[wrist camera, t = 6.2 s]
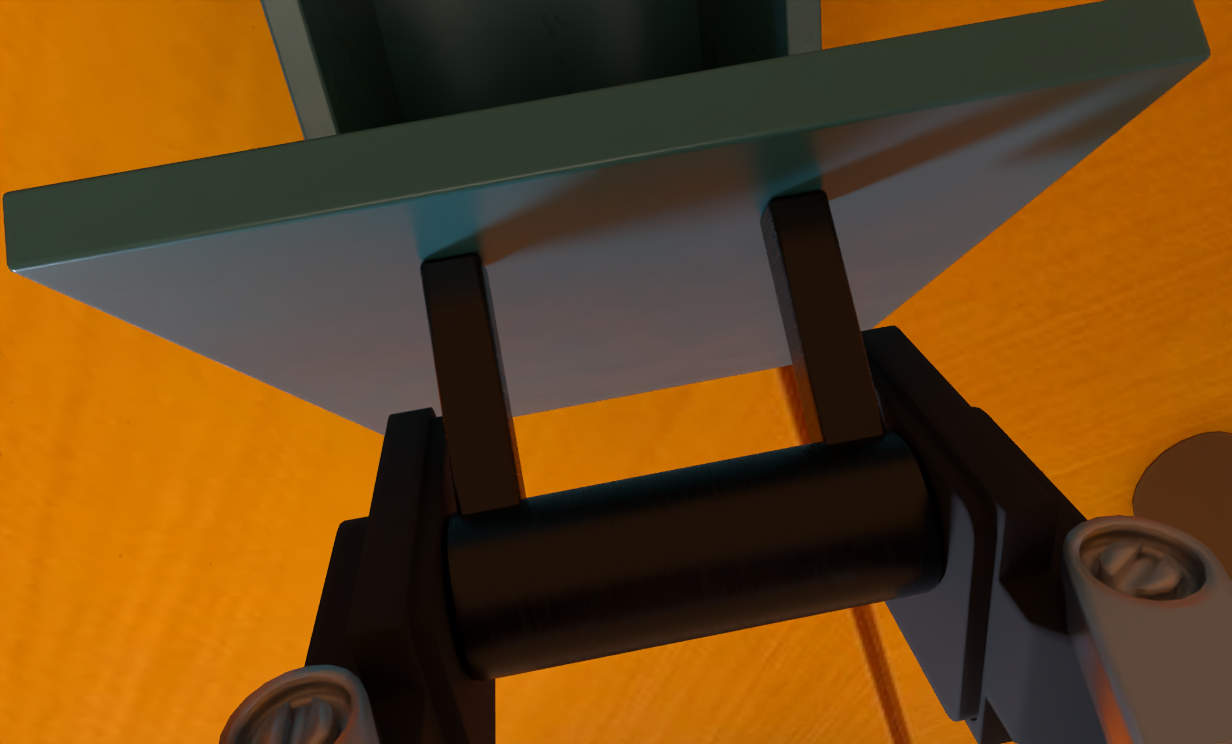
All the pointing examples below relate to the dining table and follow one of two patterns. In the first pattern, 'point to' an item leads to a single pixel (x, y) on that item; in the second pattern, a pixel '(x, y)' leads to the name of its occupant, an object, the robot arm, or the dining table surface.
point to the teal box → (508, 50)
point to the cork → (1193, 492)
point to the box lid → (626, 299)
